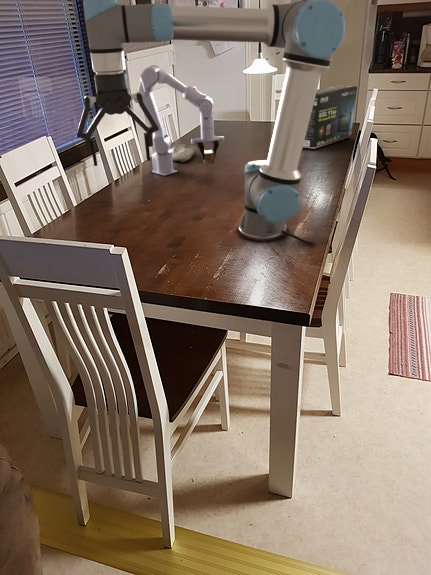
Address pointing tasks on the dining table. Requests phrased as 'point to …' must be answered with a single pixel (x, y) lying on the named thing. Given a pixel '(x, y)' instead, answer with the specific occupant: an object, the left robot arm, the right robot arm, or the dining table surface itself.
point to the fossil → (183, 152)
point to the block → (208, 157)
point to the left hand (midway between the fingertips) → (208, 159)
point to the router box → (331, 115)
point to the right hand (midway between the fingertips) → (122, 162)
